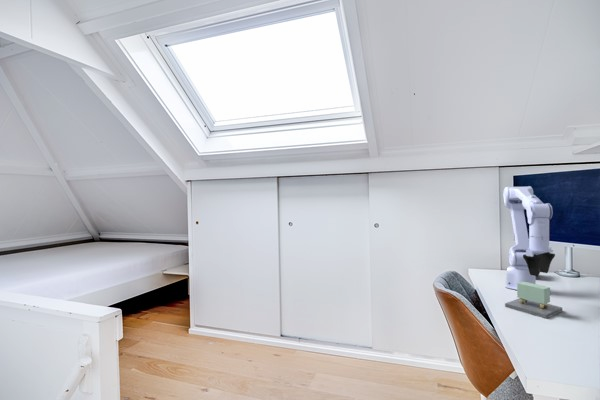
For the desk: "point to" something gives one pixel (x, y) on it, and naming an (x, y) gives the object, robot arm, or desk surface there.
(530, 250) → the robot arm
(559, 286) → the desk surface
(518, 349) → the desk surface
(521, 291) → the board block
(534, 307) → the plate
